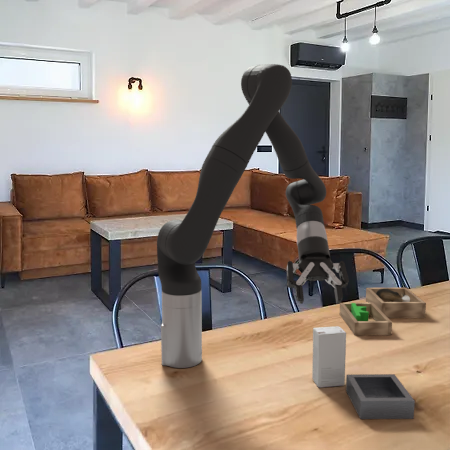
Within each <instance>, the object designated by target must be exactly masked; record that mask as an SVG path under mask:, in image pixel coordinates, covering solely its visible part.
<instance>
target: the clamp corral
mask: <svg viewBox="0 0 450 450" xmlns="http://www.w3.org/2000/svg"><path fill="white" fill-rule="evenodd" d="M351 303H352V302H340V304H339V316H341V319H342V320H343V321H344V323H345V324H346V325H347V326H348V327H347V328H349V329H350V331H351V333H352V334H353V335H354V336H391V335H392V332H393V322H392V320H391V319H390V318H387V317H386V316H385V314H384V313H383V312H382V311H381V310H380V309H379V308H378V307H377V306H376V305H375V304H374V303H367V302H355V303H356V306H364V307H366V311H367V312H369V316H371V318H372V319H373V320H368V321H357V320H356V319H355V317H354V316H353V315H352V313H351Z"/></svg>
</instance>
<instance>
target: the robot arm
mask: <svg viewBox="0 0 450 450" xmlns="http://www.w3.org/2000/svg"><path fill="white" fill-rule="evenodd" d="M291 73H292V72H291V71H290V70H289V68H287V67H286V66H285V65H282V64H278V63H277V64H275V63H274V64H273V63H272V64H269V63H268V64H256V65H252V66H249V67H248V68H247V69H245V71H244V72H243V73H242V76H241V81H240V87H241V91H242V92H241V93H242V94H243V97H244V98H245V101H246V102H247V103H248V106H247V107H246V109H245V110H244V112H243V113H242V114H241V115H240V116H239V117H238V118H237V119H236V120H235V121H234V122H233V123H231V125H229V126H228V127H227V128H226V129H225V130H224V131H223V132H222V133H221V134H219V136H218V137H217V139H216V140H215V141H214V142H213V144H212V146H211V148H210V150H209V151H208V154H207V156H206V157H205V159H204V160H203V164H202V166H201V168H200V172H199V176H198V185H197V189H196V190H197V191H196V195H195V197H194V200H193V202H192V204H191V206H190V208H189V210H188V211H187V213H186V214H185V216H184V218H183V220H182V219H172V220H169V221H167V222H165V223H164V224H163V225H162V226H161V228H160V229H159V231H158V234H157V237H156V238H157V239H156V256H157V260H156V261H157V271H158V278H159V281H160V284H161V286H160V287H161V320H162V322H161V325H160V336H161V337H160V340H161V341H160V342H161V346H160V347H161V350H160V351H161V352H160V353H161V365H162V366H166V367H167V366H168V367H171V368H174V369H184V368H186V369H187V368H192V367H196V366H197V365H199V364H201V362H202V361H203V347H202V346H203V334H202V333H203V332H202V331H203V330H202V329H203V327H202V326H203V325H202V323H203V322H202V320H203V318H202V317H203V316H202V278H201V276H200V275H199V273H198V270H197V268H196V262H197V261H199V260H200V259H201V258H202V257H203V255H204V253H205V252H206V250H207V248H208V246H209V244H210V241H211V239H212V236H213V234H214V231H215V229H216V226H217V224H218V221H219V219H220V216H221V215H222V213H223V211H224V209H225V207H226V206H227V204H228V202H229V199H231V196H232V194H233V192H234V191H235V188H236V186H237V185H238V182H239V181H240V180H241V178H242V176H243V174H244V172H245V170H246V169H247V168H248V164H249V163H250V160H251V159H252V156H253V154H254V152H255V151H256V150H257V148H258V146H259V144H260V143H261V140H262V138H263V137H264V135H265V134H266V136H267V137H268V139H269V141H270V143H271V145H272V147H273V150H274V152H275V155H276V157H277V159H278V162H279V164H280V167H281V169H282V170H281V171H282V172H283V174H284V176H285V177H286V178H288V179H291V180H292V179H294V180H295V179H301V180H297V181H293V182H291V183H289V184H288V185H287V187H286V189H285V198H286V199H287V201H288V203H289V206H290V207H291V209H292V212H293V215H294V219H295V220H294V221H295V227H296V246H297V252H298V253H297V254H298V263H293V261H291V260H288V262H287V265H286V286H287V288H289V289H290V288H291V289H294V290H295V296H296V297H295V299H296V301H297V302H299V304H300V305H301V304H304V302H305V301H304V300H305V297H304V289H303V285H305V283H306V282H307V281H310V282H315V281H318V282H324V281H325V282H326V283H327V284H328V285H331V286H332V287H333V288H334V289H333V292H334V298H335V304H338V305H340V303H342V301H343V300H344V299H343V298H344V293H343V288H344V289H345V288H347V287H348V284H349V282H350V279H349V274H348V272H347V271H348V270H347V267H346V263H345V261H343V260H340V262H335V263H334V262H333V261H332V260H331V253H330V247H329V241H328V240H329V239H328V235H327V231H326V227H325V221H324V214H323V212H322V209H321V208H320V207H319V206H318V205H314V204H318V203H320V202H323V201H324V200H325V199H326V198H327V188H326V184H325V183H324V181H323V180H322V178H321V177H320V176H319V175H318V174H317V172H316V171H315V170H314V168H313V167H312V165H311V163H310V161H309V159H308V156H307V153H306V150H305V147H304V146H303V143H302V140H301V139H300V138H299V136H298V134H297V133H296V132H295V131H294V129H292V127H291V126H290V125H289V124H288V122H287V121H286V120H285V119H284V117H283V116H282V114H281V113H280V110H281V109H282V107H283V106H284V104H285V102H286V101H287V99H288V97H289V95H290V93H291V91H292V87H293V77H292V74H291ZM296 270H298V271H299V272H300V273H301V274H300V276H299V278H298V279H297V280H294V273H296ZM333 270H335V272H336V273H338V275H339V278H338V276H336V274H335V273H334V271H333Z"/></svg>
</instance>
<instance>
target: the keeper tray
mask: <svg viewBox="0 0 450 450" xmlns="http://www.w3.org/2000/svg"><path fill="white" fill-rule="evenodd" d="M345 392H346V394H347V396H348V398H349V400H350V402H351V403H352V406H353V407H354V410H355V412H356V413H357V415H358V418H359V419H360V420H390V419H391V420H402V419H403V420H408V419H410V420H412V419H414V416H415V403H416V400H415V399H414V398H413V396H412V395H411V394H410V392H409V391H408V390H407V388H406V387H405V386H404V384H403V383H402V382H401V381H400V380H399V378H398V377H397V375H396V374H394V373H387V374H384V373H383V374H381V373H380V374H379V373H377V374H369V373H368V374H363V373H362V374H358V373H357V374H356V373H355V374H345Z"/></svg>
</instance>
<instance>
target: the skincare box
mask: <svg viewBox="0 0 450 450" xmlns="http://www.w3.org/2000/svg"><path fill="white" fill-rule="evenodd" d="M346 350H347V332H346V331H345V330H344V329H343V328H342V327H340V326H339V325H337V326H323V327H313V328H312V370H311V372H312V373H311V374H312V377H311V378H312V380H313V382H314V384H315V385H316V387H317V388H328V387H340V386H346V357H347V356H346V354H347V353H346Z"/></svg>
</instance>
